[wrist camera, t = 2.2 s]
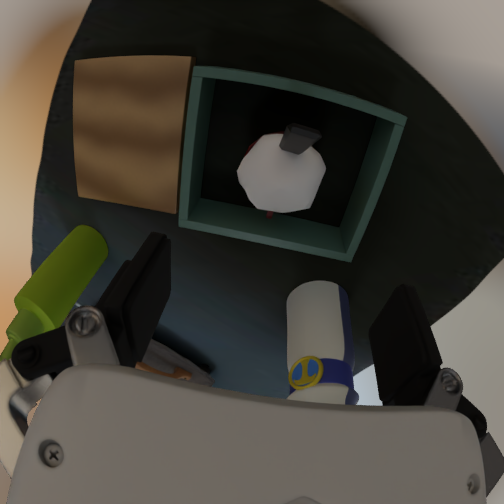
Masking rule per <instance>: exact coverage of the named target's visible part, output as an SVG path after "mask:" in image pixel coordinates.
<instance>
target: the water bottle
mask: <svg viewBox="0 0 504 504" xmlns="http://www.w3.org/2000/svg"><path fill="white" fill-rule="evenodd" d="M287 329H288V338H287V366H288V371H289V376H288V379H289V383H290V396H289V397H288V398H287V399H288V400H296V401H306V402H316V403H329V404H344V405H356V404H357V402H358V400H359V395H358V393H357V392H356V391H355V390H354V384H353V374H352V371H353V368H354V362H355V356H354V345H353V337H352V330H351V321H350V311H349V301H348V295H347V293H346V291H345V290H344V289H343V288H342V287H341V286H339V285H337V284H335V283H333V282H329V281H311V282H307V283H304V284H302V285H300V286H298V287H297V288H295V289H294V290H293V291H292V292H291V293H290V295H289V296H288V299H287Z"/></svg>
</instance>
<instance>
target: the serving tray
mask: <svg viewBox="0 0 504 504" xmlns="http://www.w3.org/2000/svg"><path fill="white" fill-rule="evenodd" d="M127 367H128V366H127ZM135 369H139V370H143V371H148V372H152V373H156V374H160V375H163V376H167V377H171V378H175V379H179V380H184V381H188V382H192V383H197V384H201V385H206V386H210V387H211V386H212V385H213V384H214V383H215V380H214V379H213V378H212V377H211V376H210V375H209V374H210V369H209V366H208V365H206V364H202V365H201V366H200V367H198V366H197V365H196V364H194V363H193V362H191V361H190V360H189V359H187V358H185V357H183V356H181V355H180V354H178V353H176V352H175V351H173V350H172V349H170V348H169V347H167V346H165V345H163V344H161V343H160V342H158V341H155V340H153V339H151V341H150V343H149V345H148V348H147V350H146V353H145V355H144V358H143V360H142V362H141V363H140V362H137V364H136V366H135Z"/></svg>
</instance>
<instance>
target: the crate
mask: <svg viewBox="0 0 504 504" xmlns="http://www.w3.org/2000/svg"><path fill="white" fill-rule="evenodd" d="M216 79H223V80H231V81H238V82H244V83H251V84H256V85H262V86H267V87H272V88H277V89H282V90H287V91H291V92H296V93H300V94H304V95H308V96H312V97H316V98H320V99H323V100H327V101H331V102H334V103H338V104H341V105H344V106H347V107H351V108H354V109H357V110H360V111H363V112H366V113H369V114H372V115H374V116H377V119H376V122H375V125H374V129H373V132H372V135H371V138H370V141H369V144H368V148H367V151H366V154H365V157H364V160H363V163H362V166H361V169H360V172H359V175H358V177H357V180H356V183H355V186H354V189H353V192H352V194H351V197H350V200H349V203H348V205H347V208H346V211H345V213H344V216H343V219H342V221H341V224H340V227H335V226H331V225H327V224H322V223H318V222H314V221H309V220H305V219H301V218H296V217H292V216H287V215H283V214H278V213H273V215H272V218H271V219H268V218H266V214H267V211H264V210H259V209H254V208H250V207H245V206H240V205H235V204H230V203H225V202H219V201H214V200H209V199H204V198H201V189H202V180H203V171H204V162H205V154H206V146H207V138H208V130H209V123H210V116H211V109H212V102H213V96H214V89H215V83H216ZM406 120H407V117H406V116H404V115H402V114H399V113H397V112H395V111H393V110H391V109H389V108H386V107H384V106H381V105H378V104H376V103H373V102H370V101H367V100H364V99H361V98H358V97H355V96H352V95H349V94H346V93H343V92H339V91H336V90H333V89H329V88H326V87H322V86H318V85H314V84H311V83H307V82H302V81H298V80H294V79H289V78H285V77H280V76H275V75H270V74H264V73H259V72H253V71H246V70H240V69H232V68H225V67H216V66H194V67H193V74H192V81H191V88H190V96H189V103H188V112H187V120H186V130H185V140H184V150H183V162H182V174H181V189H180V206H179V227H184V228H189V229H194V230H199V231H204V232H209V233H214V234H219V235H223V236H228V237H233V238H238V239H243V240H248V241H253V242H257V243H262V244H267V245H272V246H277V247H281V248H286V249H291V250H296V251H300V252H305V253H310V254H314V255H319V256H324V257H328V258H333V259H338V260H342V261H347V262H351V261H352V259H353V256H354V254H355V252H356V250H357V247H358V245H359V243H360V241H361V238H362V236H363V234H364V232H365V229H366V227H367V225H368V222H369V220H370V218H371V215H372V213H373V210H374V208H375V205H376V203H377V200H378V198H379V195H380V193H381V190H382V188H383V185H384V183H385V180H386V177H387V175H388V172H389V169H390V167H391V164H392V161H393V158H394V155H395V153H396V150H397V147H398V144H399V141H400V138H401V135H402V132H403V129H404V126H405V123H406Z"/></svg>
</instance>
